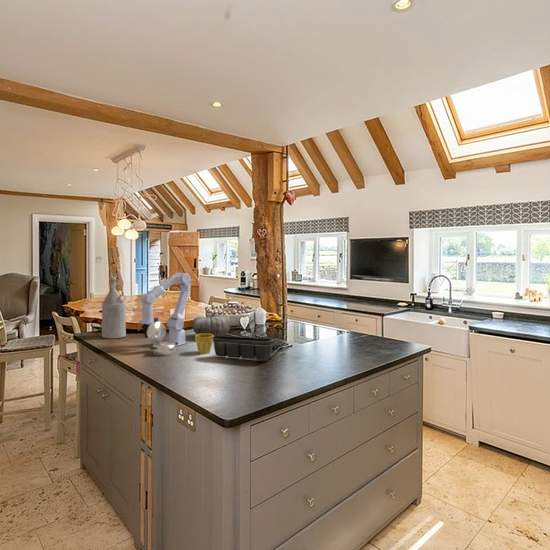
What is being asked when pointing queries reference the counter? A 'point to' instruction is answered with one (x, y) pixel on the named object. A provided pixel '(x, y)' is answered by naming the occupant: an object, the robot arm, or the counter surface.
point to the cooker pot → (164, 348)
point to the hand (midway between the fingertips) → (147, 337)
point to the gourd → (211, 325)
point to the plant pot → (204, 342)
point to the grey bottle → (113, 313)
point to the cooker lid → (156, 331)
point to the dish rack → (246, 345)
